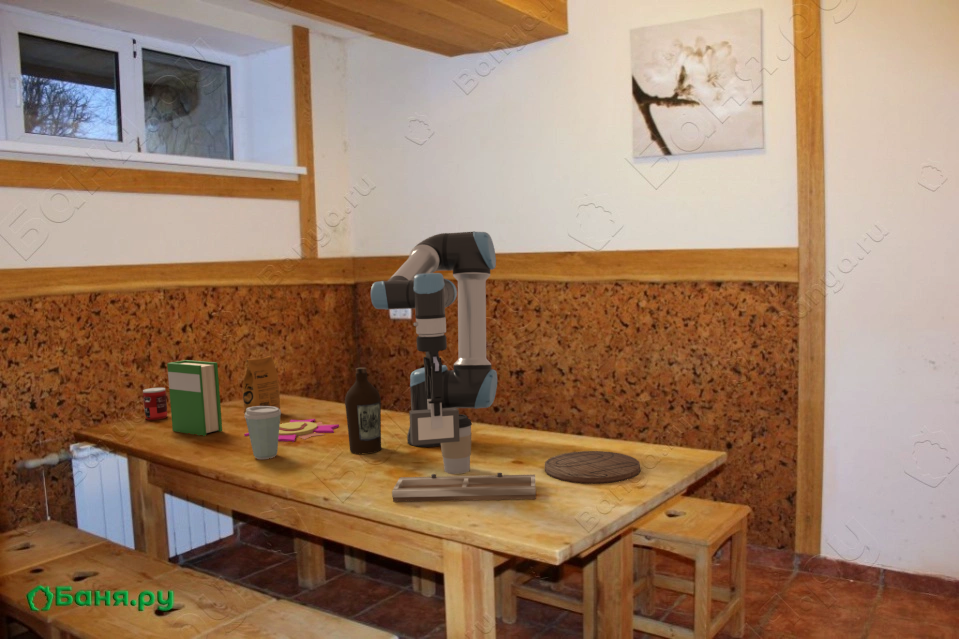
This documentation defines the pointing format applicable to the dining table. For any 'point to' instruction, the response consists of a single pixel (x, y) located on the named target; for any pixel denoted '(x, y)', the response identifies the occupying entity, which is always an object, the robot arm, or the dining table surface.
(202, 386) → the hardback book
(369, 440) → the olive oil
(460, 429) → the coffee cup
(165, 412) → the canned food
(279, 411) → the disposable coffee cup
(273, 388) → the coffee package
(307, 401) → the dining table surface
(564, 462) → the trivet
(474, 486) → the wooden compartment tray
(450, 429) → the picture frame
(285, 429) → the wall ornament
